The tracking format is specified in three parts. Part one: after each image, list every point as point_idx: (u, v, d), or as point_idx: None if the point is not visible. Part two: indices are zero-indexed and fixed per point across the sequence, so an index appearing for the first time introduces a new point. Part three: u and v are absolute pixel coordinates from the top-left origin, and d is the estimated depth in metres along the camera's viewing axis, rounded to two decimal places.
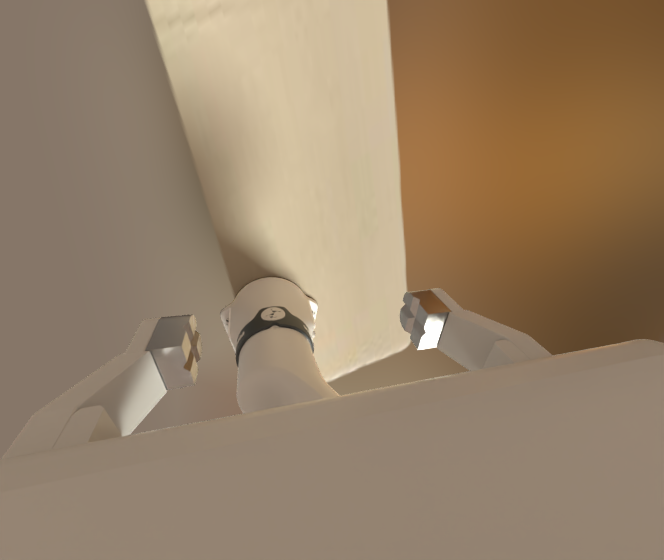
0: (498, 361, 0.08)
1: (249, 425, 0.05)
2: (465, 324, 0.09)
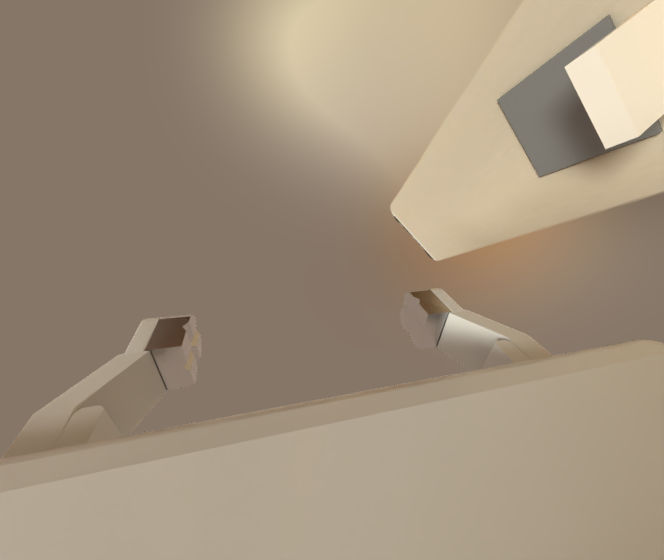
0: (498, 361, 0.08)
1: (249, 425, 0.05)
2: (465, 324, 0.09)
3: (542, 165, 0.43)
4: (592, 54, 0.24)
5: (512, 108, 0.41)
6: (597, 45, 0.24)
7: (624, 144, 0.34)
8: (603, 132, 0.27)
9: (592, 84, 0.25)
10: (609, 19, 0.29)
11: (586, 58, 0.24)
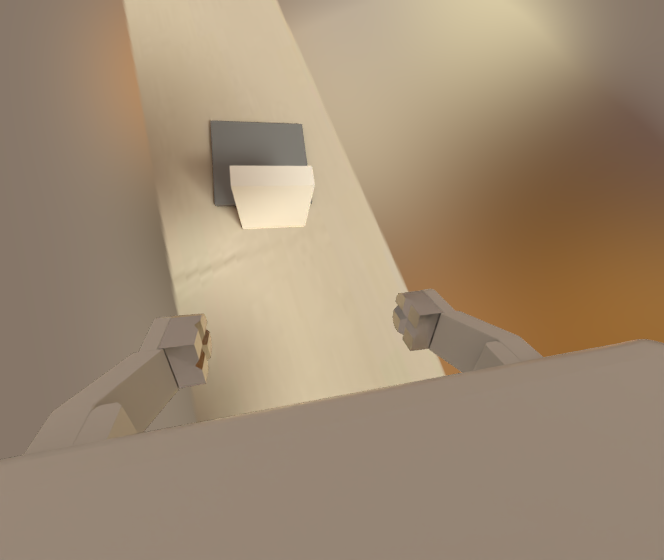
0: (489, 363, 0.08)
1: (249, 425, 0.05)
2: (457, 325, 0.09)
3: (221, 128, 0.42)
4: (309, 182, 0.31)
5: (287, 131, 0.44)
6: (313, 186, 0.31)
7: (215, 184, 0.39)
8: (245, 169, 0.30)
9: (289, 175, 0.30)
10: None
11: (309, 178, 0.31)
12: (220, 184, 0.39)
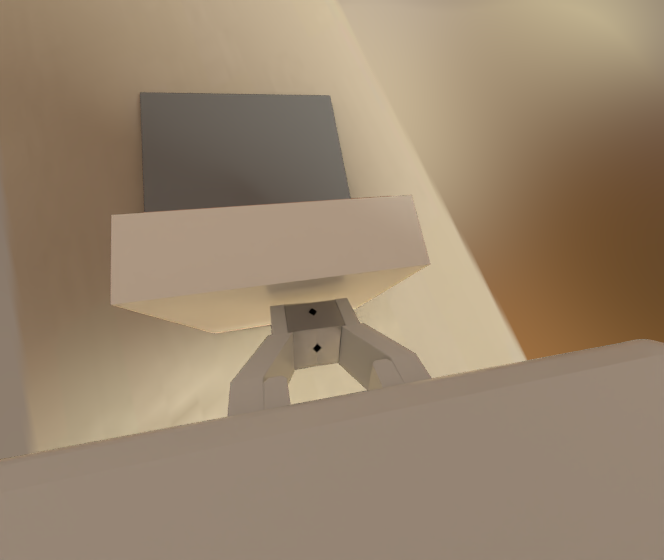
0: (374, 384, 0.07)
1: (249, 425, 0.05)
2: (356, 340, 0.09)
3: (165, 107, 0.20)
4: (413, 254, 0.09)
5: (303, 110, 0.22)
6: (423, 266, 0.09)
7: None
8: (178, 224, 0.08)
9: (340, 237, 0.08)
10: None
11: (409, 241, 0.09)
12: None
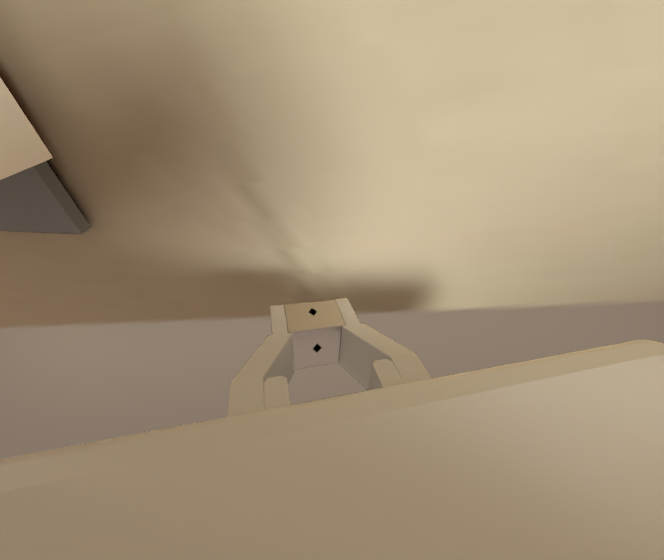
0: (374, 384, 0.07)
1: (249, 425, 0.05)
2: (356, 340, 0.09)
3: None
4: None
5: None
6: None
7: (14, 228, 0.12)
8: None
9: None
10: None
11: None
12: (2, 213, 0.12)
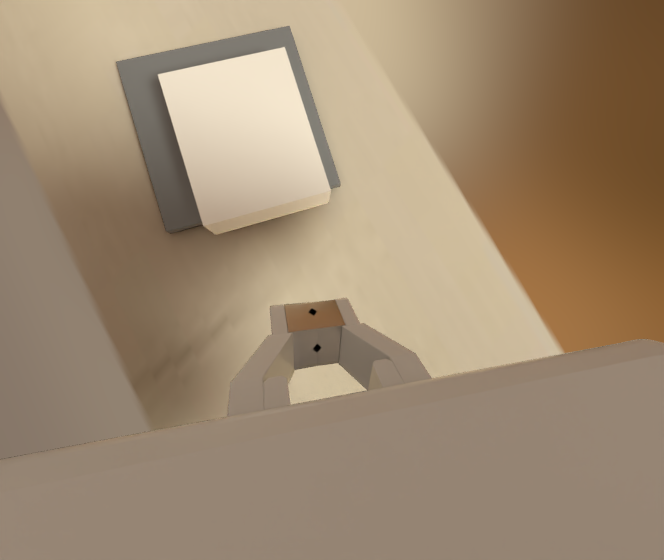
0: (374, 384, 0.07)
1: (249, 425, 0.05)
2: (356, 340, 0.09)
3: (141, 72, 0.21)
4: None
5: (266, 47, 0.22)
6: (284, 50, 0.20)
7: (157, 193, 0.21)
8: None
9: None
10: (335, 186, 0.22)
11: None
12: (167, 191, 0.21)
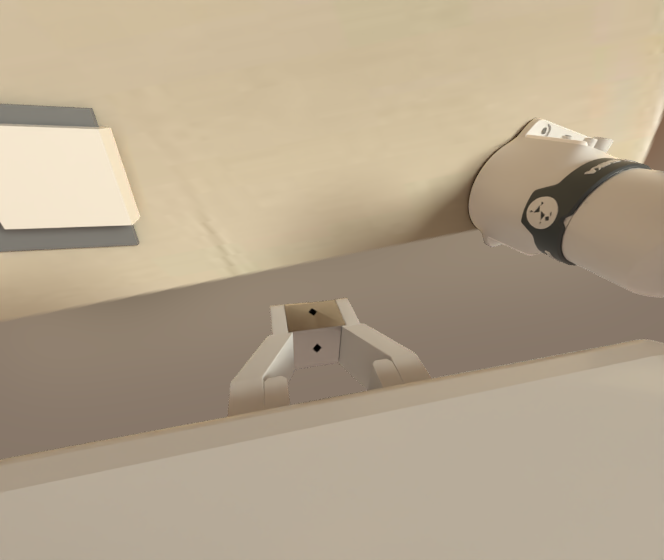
0: (374, 384, 0.07)
1: (249, 425, 0.05)
2: (356, 339, 0.09)
3: None
4: None
5: None
6: None
7: (107, 245, 0.32)
8: None
9: None
10: (92, 113, 0.26)
11: None
12: (105, 239, 0.32)
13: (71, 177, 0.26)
